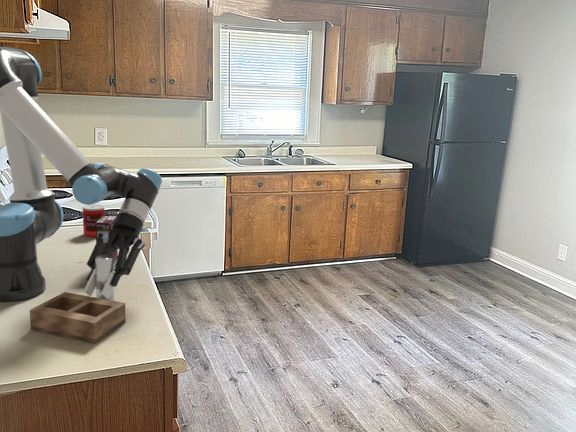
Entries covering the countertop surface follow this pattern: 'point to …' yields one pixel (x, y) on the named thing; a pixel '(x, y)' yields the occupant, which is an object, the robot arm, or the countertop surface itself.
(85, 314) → the socket block
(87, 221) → the red supplement bottle
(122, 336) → the countertop surface
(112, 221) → the supplement box
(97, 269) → the pin
